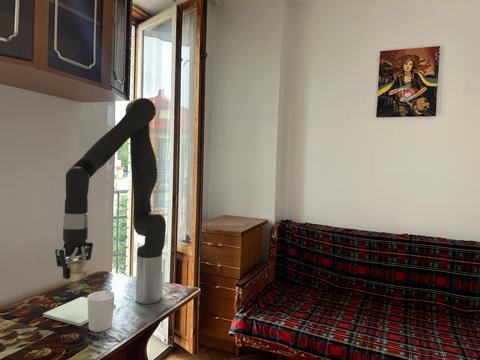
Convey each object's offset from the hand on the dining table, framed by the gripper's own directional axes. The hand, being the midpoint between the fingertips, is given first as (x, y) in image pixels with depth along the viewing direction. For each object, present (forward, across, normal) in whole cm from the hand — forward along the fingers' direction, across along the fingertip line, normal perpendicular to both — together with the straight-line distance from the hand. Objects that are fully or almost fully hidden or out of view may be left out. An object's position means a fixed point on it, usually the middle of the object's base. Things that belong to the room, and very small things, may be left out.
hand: (74, 275), depth 115 cm
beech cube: (+1, 0, 0) cm, 1 cm away
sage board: (+13, -2, +1) cm, 13 cm away
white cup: (+13, +3, +15) cm, 20 cm away
